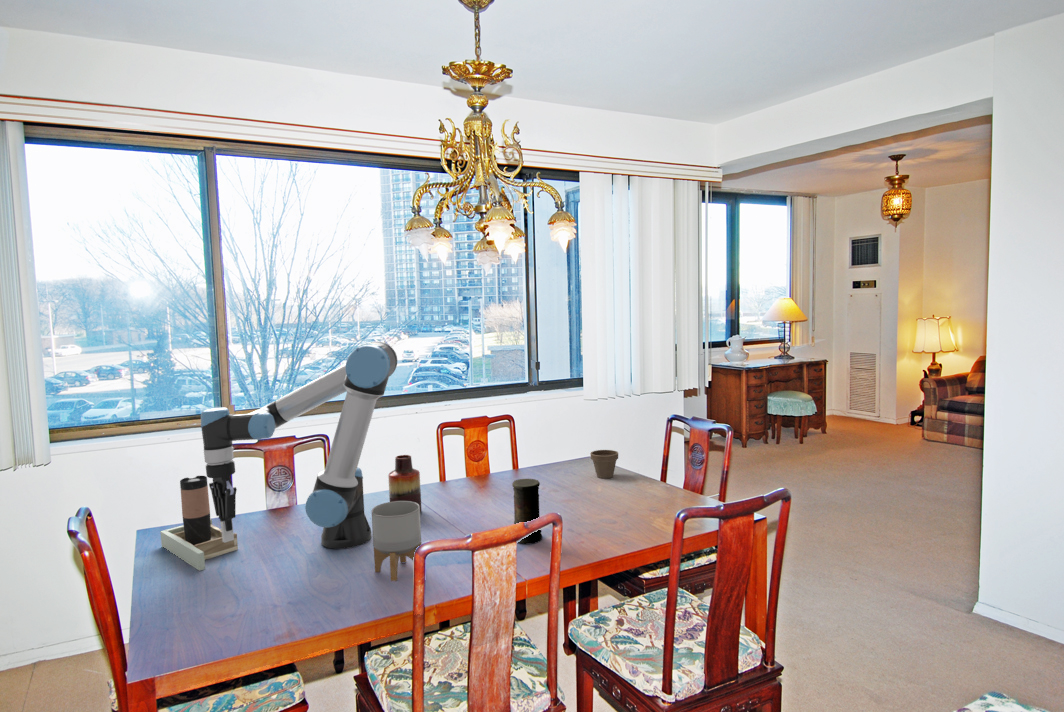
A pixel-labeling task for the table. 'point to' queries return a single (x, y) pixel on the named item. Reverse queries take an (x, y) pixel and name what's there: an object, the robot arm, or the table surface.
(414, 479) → the vase
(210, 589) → the table surface
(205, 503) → the travel mug
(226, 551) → the tray
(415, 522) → the planter
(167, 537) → the bay
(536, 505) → the container
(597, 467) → the flower pot
